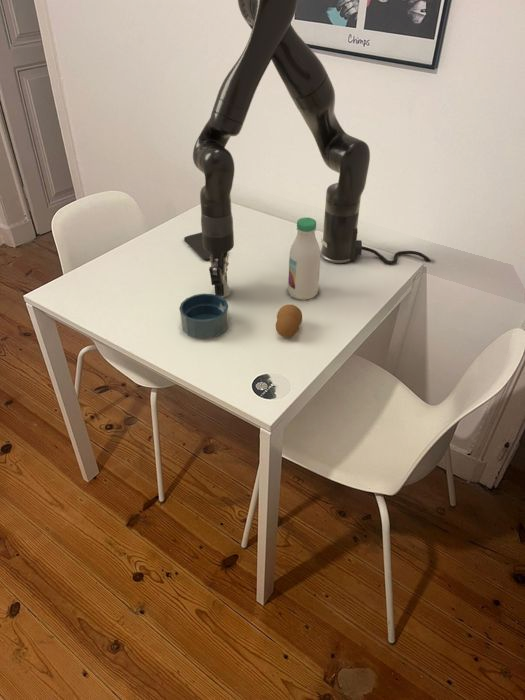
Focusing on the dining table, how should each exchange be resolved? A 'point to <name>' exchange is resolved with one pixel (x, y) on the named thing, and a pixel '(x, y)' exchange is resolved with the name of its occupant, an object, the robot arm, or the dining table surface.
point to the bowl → (204, 315)
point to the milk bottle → (304, 261)
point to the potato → (288, 320)
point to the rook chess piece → (226, 288)
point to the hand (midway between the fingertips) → (221, 289)
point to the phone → (198, 245)
